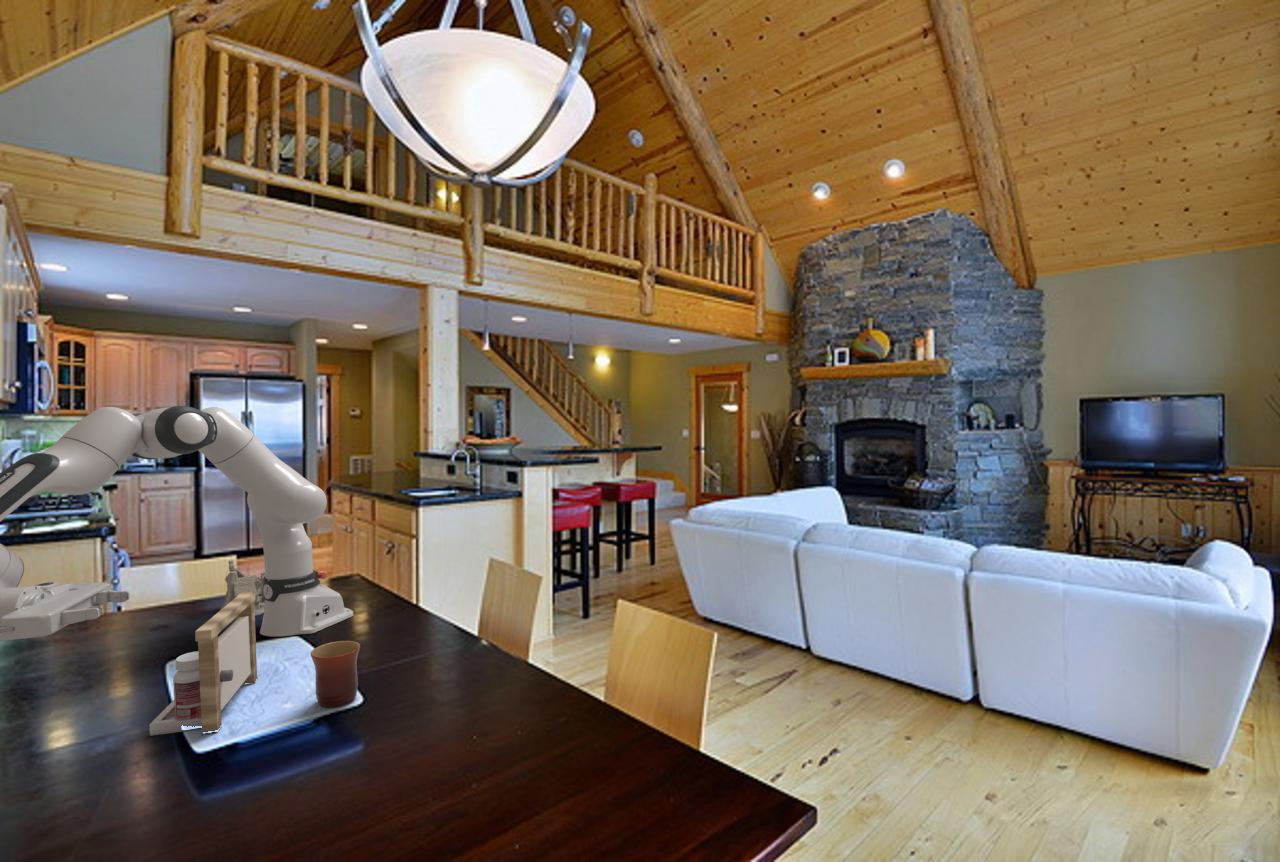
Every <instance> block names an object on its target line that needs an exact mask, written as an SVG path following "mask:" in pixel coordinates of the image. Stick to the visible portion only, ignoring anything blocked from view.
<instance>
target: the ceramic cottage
mask: <svg viewBox="0 0 1280 862" xmlns="http://www.w3.org/2000/svg"><path fill="white" fill-rule="evenodd" d="M228 570H229V571H228V572H229V573H228V574H227V575H226V576H225V578H224V581H225V582H226V588H227V589H226V593H225V595H224V603H223V604H222V606H221V607H220V610H221V609H223V608H224V607H225V606H226V605H227V604H229V603H230V602H231V601H232V600H233V599H235V598H236V597H237V596H238V595H239V594H240V593H242V592H247V591H255V598H256V599H255V600H254V611H255V616H260V615H262V614H264V608H265V599H264V590H263V578H264V577H265V571H261V572H260V576H259V575H257V574H252V575H246V574H245V573H244V572H242V571H241V570H238V569H237V568H236V565H235V563H234V560H233V559H231V560H228ZM238 618H239V617H238V616H237V617H236V618H235V619H234V620H233V621H236V620H237V619H238Z"/></svg>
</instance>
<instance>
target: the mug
mask: <svg viewBox="0 0 1280 862" xmlns="http://www.w3.org/2000/svg"><path fill="white" fill-rule="evenodd" d="M360 649H361V644H360V642H358V641H353V640H339V641H331V642H329V643H325V644H321V645H319V646H317V647H315V648H314V649H312V650H311V652H310V657H311V660H312V662H313V665H314V669H315V692H314V693H315V696H316V697H315V698H316V700H317V703H318V705H319V706H322V707H324V708H335V707H336V708H337V707H340V706H345V705H347V704H349V703H351V702H352V701H353V700H354V699H355V698H356V696H357V695H358V694H357V693H358V687H359V684H358V683H359V681H358V667H357V662H358V661H357V660H358V656H359V652H360Z"/></svg>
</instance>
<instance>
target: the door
mask: <svg viewBox="0 0 1280 862" xmlns="http://www.w3.org/2000/svg"><path fill="white" fill-rule="evenodd" d="M218 652H219V676H220V699H221V710H222V709H223V708H224V709H225V707H226V706H227V705H228V704H227V703H229V701H230V700H231V698H232V697H233V696H234V695H235V694H236V692H238V690H239V689H240V687H241V686H243V685H242V684H243V682H244V681H245V680H246V679H247V677H248V676H249V675H250V674H251V667H250V642H249V617H248V616H246V617H239V618H238V619H237V620H234V621H233V623H232V624H231V625H229V626H228V627H227V628H226V629H225V630H224V631H223V632H222V633H221V634H220V635H218ZM226 704H227V705H226ZM225 705H226V706H225ZM224 706H225V707H224ZM224 709H223V710H224ZM223 710H222V711H223Z"/></svg>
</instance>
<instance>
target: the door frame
mask: <svg viewBox="0 0 1280 862" xmlns="http://www.w3.org/2000/svg"><path fill="white" fill-rule="evenodd" d="M255 599H256V598H255V591H247V592H242V593H240V594H239V595H238V596H237V597H236V598H235V599H233V600H232V601H231V602H230V603H229V604H227V605H226V606H225V607H224V608H223V609H221V608H220V610H219V611H218V612H217V613H216V614H214V615H213V616H212V617H211V618H209V619H208V620H207V621H206V622H205V623H204V624H202V625H201V626H200V627H199V628H197V629H196V630H195V631H194V632H195V633H194V635H195V636H194V637H195V639H194V640H195V642H197V647H198V648H197V650H198V653H199V676H200V699H201V722H202V729H201V733H202V732H208V731H215V730H218V729H219V728H220V726H221V725H223V724H222V711H221V699H220V676H219V652H218V637H219V634H220V633H221V632H222V631H223V630H224V629H225V628H226V627H227V626H228V625H229V624H230V623H232V622H234V621H235V620H234V619H235V618H236V617H237V616H238V617H246V616H248V617H249V642H250V667H251V674H250V675H249V676H248V677H247V679H246V680H245V681H244V682H243V684H245V683H254V682H255V681H256V679H257V680H258V664H257V643H256V642H257V640H256V637H257V636H256V617H255V611H254V600H255ZM256 682H257V681H256ZM256 682H255V683H256ZM255 683H254V684H255Z"/></svg>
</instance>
